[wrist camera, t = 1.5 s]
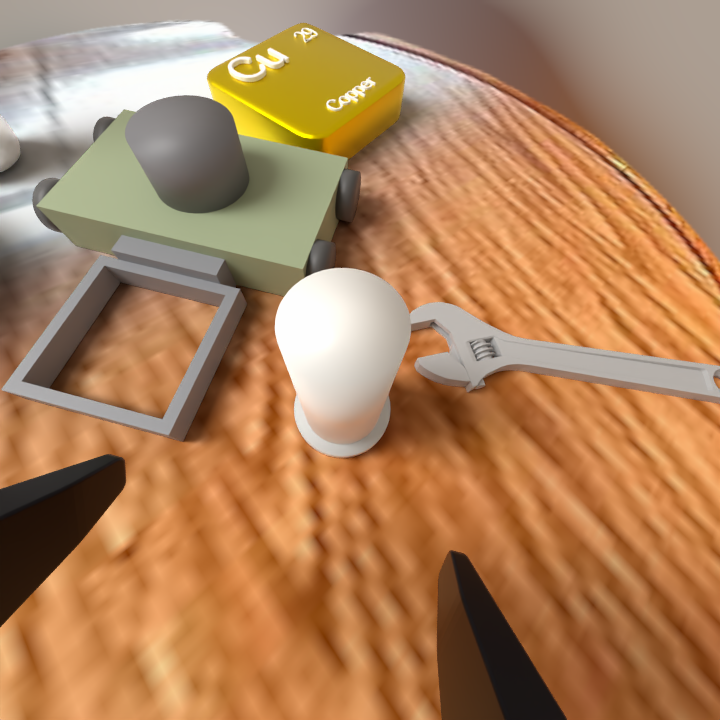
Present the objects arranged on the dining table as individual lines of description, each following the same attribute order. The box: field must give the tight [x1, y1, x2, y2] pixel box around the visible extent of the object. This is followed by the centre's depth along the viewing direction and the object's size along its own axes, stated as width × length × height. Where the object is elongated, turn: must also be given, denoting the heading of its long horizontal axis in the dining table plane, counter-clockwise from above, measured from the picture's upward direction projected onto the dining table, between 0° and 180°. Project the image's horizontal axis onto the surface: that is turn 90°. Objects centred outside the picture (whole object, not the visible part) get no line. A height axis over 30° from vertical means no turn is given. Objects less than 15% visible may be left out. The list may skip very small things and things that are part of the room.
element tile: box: [207, 23, 405, 160], centre depth 35 cm, size 15×15×5 cm
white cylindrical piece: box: [275, 268, 411, 458], centre depth 18 cm, size 6×6×12 cm
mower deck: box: [1, 95, 361, 442], centre depth 24 cm, size 24×22×8 cm
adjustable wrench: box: [410, 302, 720, 404], centre depth 25 cm, size 25×6×2 cm, turn 77°
